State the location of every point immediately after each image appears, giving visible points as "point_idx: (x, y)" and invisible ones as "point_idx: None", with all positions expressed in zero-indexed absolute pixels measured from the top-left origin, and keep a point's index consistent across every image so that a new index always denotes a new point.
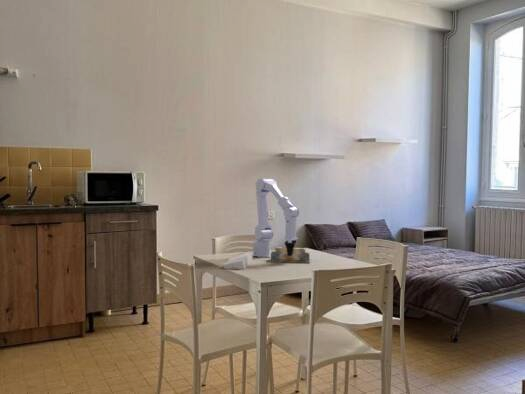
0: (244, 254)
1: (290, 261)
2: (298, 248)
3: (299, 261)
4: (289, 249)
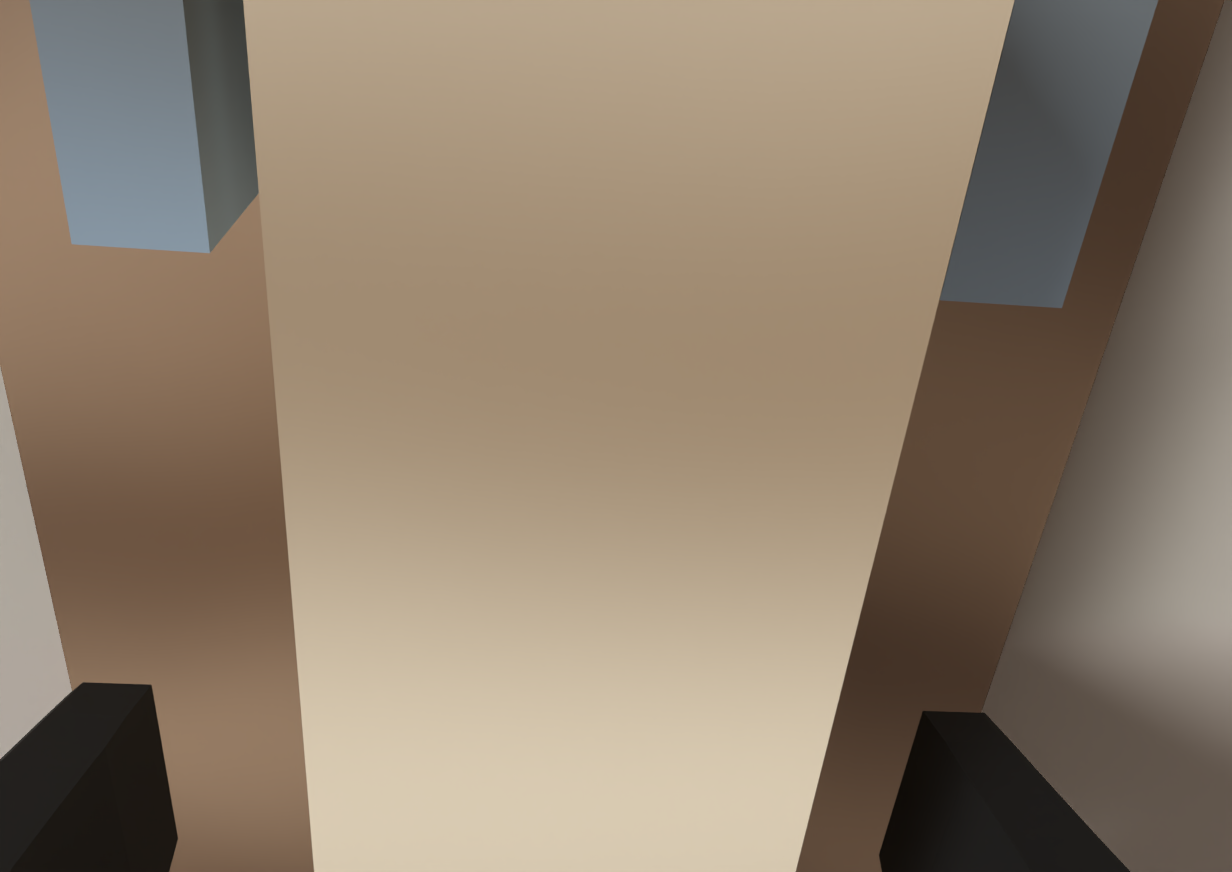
0: None
1: (1012, 578)
2: (699, 713)
3: (1144, 199)
4: None
